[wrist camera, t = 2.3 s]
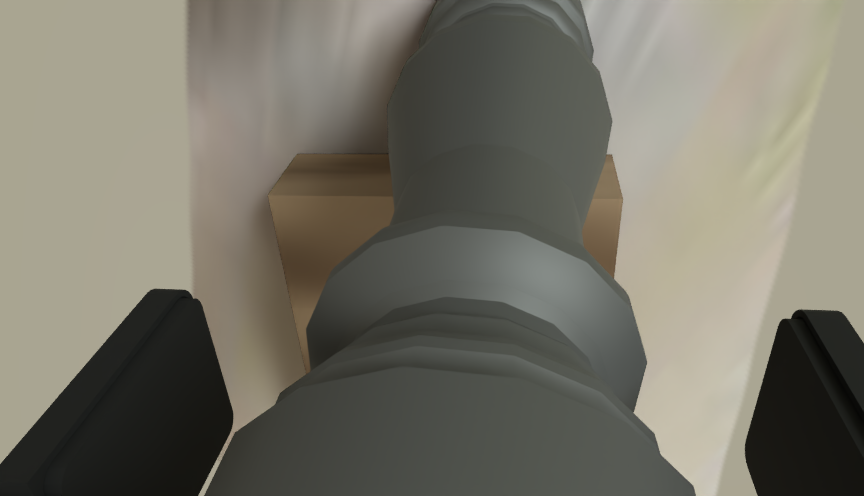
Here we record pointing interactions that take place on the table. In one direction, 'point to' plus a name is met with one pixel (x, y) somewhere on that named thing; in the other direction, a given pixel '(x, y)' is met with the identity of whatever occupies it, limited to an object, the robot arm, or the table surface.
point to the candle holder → (473, 293)
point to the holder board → (376, 220)
